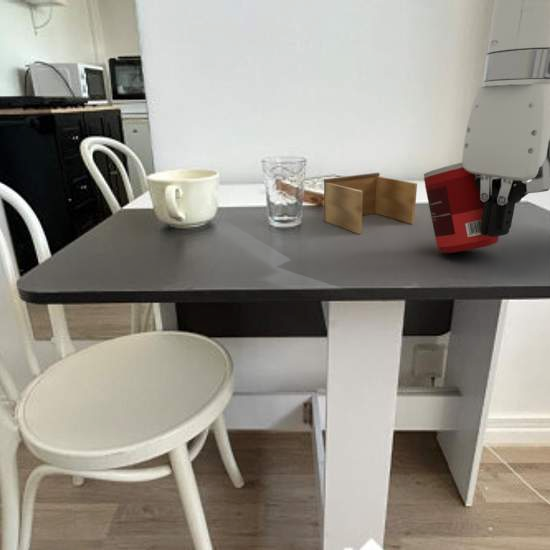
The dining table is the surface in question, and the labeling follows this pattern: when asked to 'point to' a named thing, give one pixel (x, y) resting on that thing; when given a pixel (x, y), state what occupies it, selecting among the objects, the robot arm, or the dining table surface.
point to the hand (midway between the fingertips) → (494, 233)
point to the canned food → (455, 209)
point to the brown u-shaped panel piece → (367, 199)
